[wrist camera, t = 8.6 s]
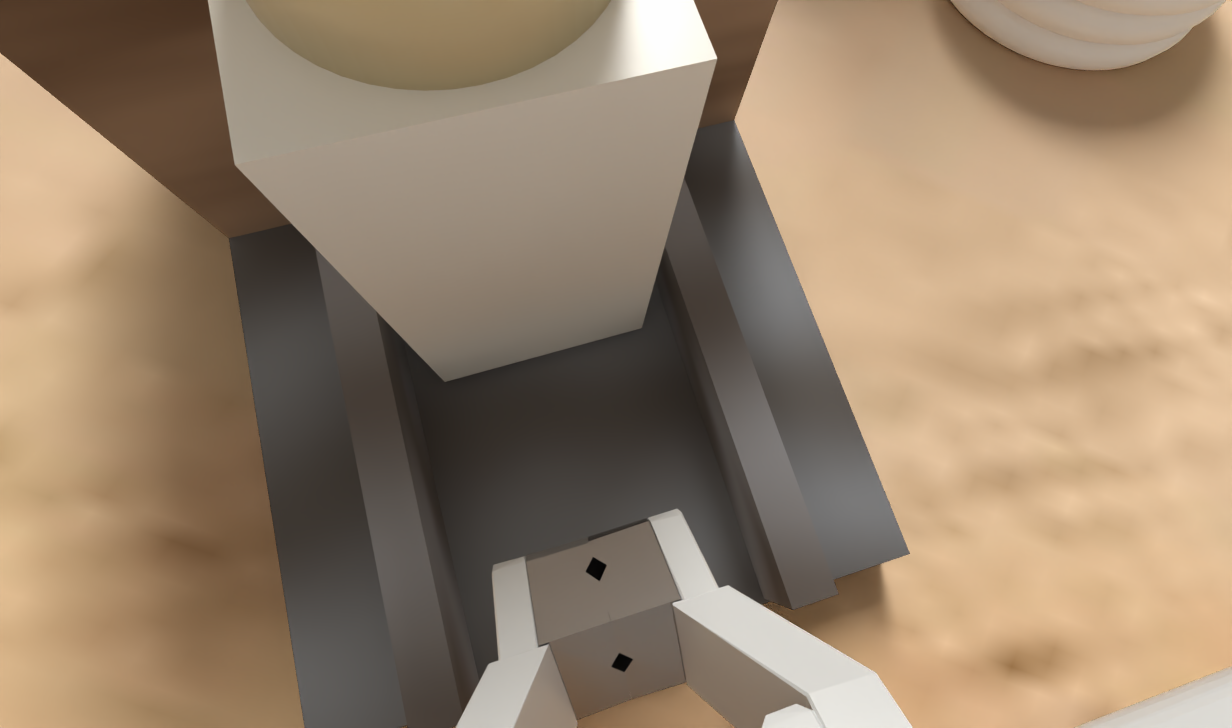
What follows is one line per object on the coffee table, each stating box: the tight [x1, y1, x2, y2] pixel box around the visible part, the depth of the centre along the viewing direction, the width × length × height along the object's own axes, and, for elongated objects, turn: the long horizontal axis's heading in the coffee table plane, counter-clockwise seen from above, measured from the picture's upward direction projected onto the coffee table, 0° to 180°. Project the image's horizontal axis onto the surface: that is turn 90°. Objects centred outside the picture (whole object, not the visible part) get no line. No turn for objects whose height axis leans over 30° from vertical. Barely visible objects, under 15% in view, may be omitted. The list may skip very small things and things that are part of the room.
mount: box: [0, 0, 910, 728], centre depth 11 cm, size 22×14×13 cm, turn 17°
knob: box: [208, 0, 717, 382], centre depth 10 cm, size 5×5×11 cm
